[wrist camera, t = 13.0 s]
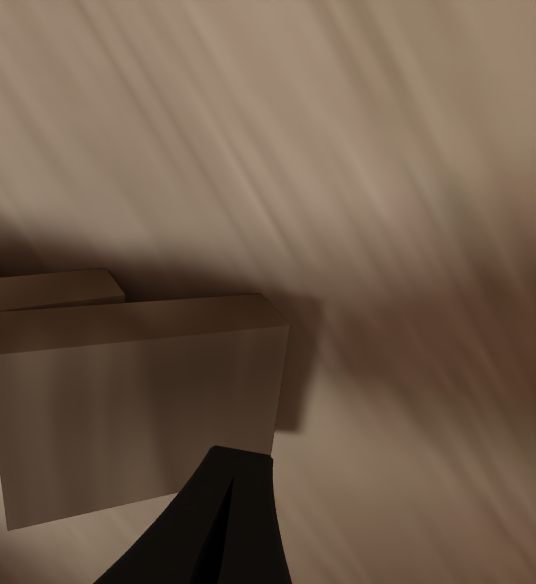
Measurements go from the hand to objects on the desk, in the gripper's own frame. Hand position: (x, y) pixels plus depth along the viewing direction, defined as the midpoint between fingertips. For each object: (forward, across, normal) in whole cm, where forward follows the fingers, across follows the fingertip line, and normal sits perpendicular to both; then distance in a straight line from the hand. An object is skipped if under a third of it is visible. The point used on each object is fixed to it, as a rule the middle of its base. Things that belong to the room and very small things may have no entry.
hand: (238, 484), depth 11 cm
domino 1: (+4, 0, 0) cm, 4 cm away
